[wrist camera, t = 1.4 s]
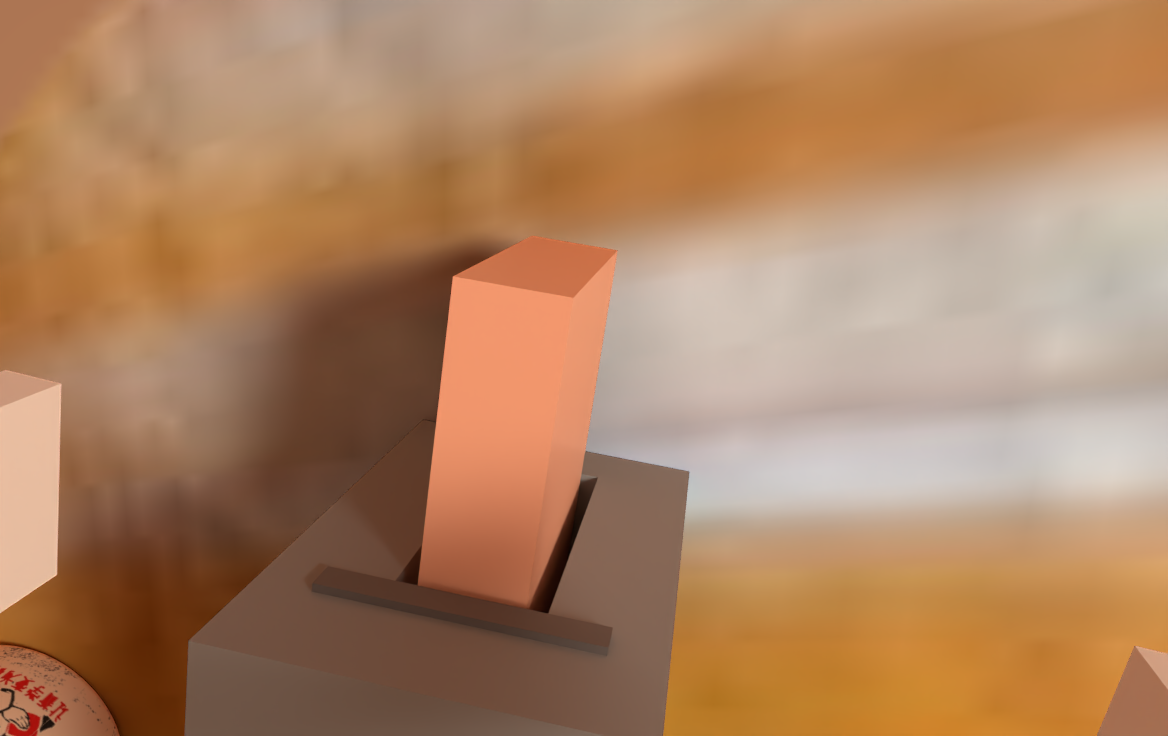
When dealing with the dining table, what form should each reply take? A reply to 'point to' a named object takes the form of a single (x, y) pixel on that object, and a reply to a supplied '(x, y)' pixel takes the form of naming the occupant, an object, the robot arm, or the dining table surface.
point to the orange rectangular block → (514, 420)
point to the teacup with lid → (47, 698)
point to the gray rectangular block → (449, 622)
